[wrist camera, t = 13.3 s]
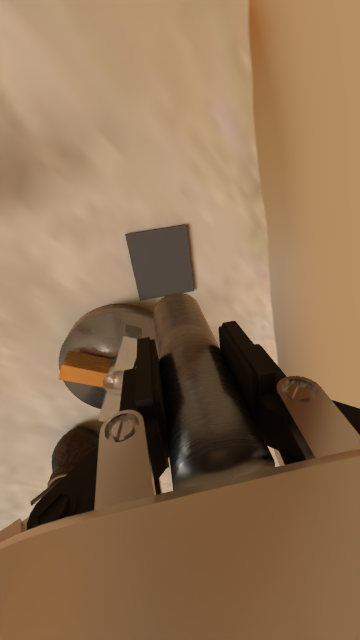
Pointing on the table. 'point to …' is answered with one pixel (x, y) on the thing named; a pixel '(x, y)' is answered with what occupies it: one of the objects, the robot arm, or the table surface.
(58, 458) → the mate gourd
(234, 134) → the table surface
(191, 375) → the grey pestle
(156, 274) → the mat
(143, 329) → the chuck base
